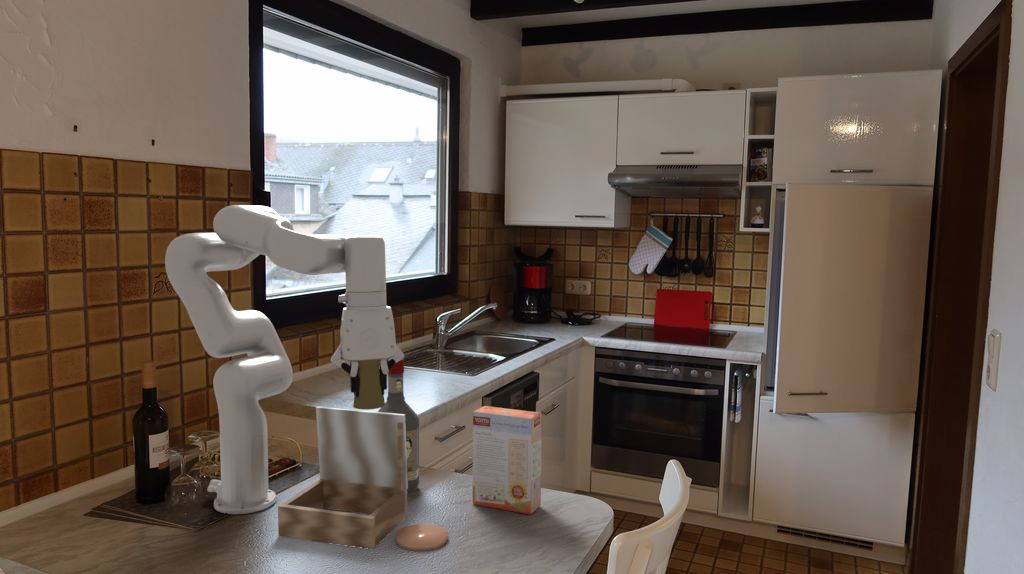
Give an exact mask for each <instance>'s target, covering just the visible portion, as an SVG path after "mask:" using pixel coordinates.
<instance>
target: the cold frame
mask: <svg viewBox="0 0 1024 574" xmlns="http://www.w3.org/2000/svg"><path fill="white" fill-rule="evenodd" d="M315 417H316V430H317V431H316V432H317V433H316V434H317V448H318V449H317V451H318V464H319V479H317V480H316V481H314V482H313V483H311V484H310V485H309V486H307V487H305V488H304V489H302V490H300V491H299V492H298V493H296V494H295V495H293V496H292V497H290V498H288V499H287V500H285V501H284V502H282V503H280V504H278V506H277V524H278V525H277V527H278V533H277V534H278V535H277V537H281V538H282V537H283V538H289V539H293V540H294V539H296V540H301V539H302V540H301V541H308V540H309V542H315V541H316V542H317V543H322V542H323V544H329V543H332V544H331V545H335V544H340V545H339V546H342V545H347V546H346V547H349V546H355V547H354V548H356V547H362V548H361V549H363V548H368V549H367V550H369V549H373V548H374V547H375V548H376V547H377V546H378V545H379V544H380V543H381V542H382V541H383V540H384V539H385V538H387V535H388V534H389V533H390V534H391V533H392V532H393V531H394V530H395V529H396V528H397V527H398V526H399V525H400V524H401V523H403V521H404V520H405V519H407V518H408V493H407V488H408V476H407V450H406V424H405V414H395V413H384V412H378V411H371V410H363V409H351V408H350V409H349V408H338V407H326V406H319V405H318V406H316V407H315ZM390 534H389V535H390ZM389 535H388V536H389ZM376 545H377V546H376ZM375 548H374V549H375ZM374 549H373V550H374Z"/></svg>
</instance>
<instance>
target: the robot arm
mask: <svg viewBox="0 0 1024 574" xmlns="http://www.w3.org/2000/svg"><path fill="white" fill-rule="evenodd" d="M212 226H213V227H212V228H213V232H192V233H186V234H185V233H184V234H181V235H180V236H177V237H175V238H174V239H173V240H172V241H170V243H169V245H168V246H167V248H166V251H165V257H164V260H165V261H164V265H165V267H164V268H165V271H166V272H165V273H166V275H167V278H168V281H169V283H170V284H171V286H172V288H173V290H174V291H175V293H176V294H177V295H178V297H179V298H180V300H181V302H182V304H183V305H184V307H185V309H186V311H187V314H188V316H189V319H190V321H191V322H192V325H193V327H194V328H195V329H194V330H195V331H196V333H197V335H198V338H199V340H200V342H201V344H202V346H203V349H204V350H205V352H206V353H207V354H208V355H209V356H211V357H212V358H219V359H222V358H229V357H234V356H239V355H240V356H241V355H244V354H246V355H247V356H244V357H240V358H236V359H232V360H229V361H227V362H225V363H223V364H222V365H221V366H219V368H217V370H216V371H215V374H214V376H213V380H212V382H213V391H214V395H215V399H216V404H217V409H218V419H219V423H218V424H219V443H220V444H219V447H220V448H219V450H220V451H219V452H220V479H211V480H210V482H209V485H208V486H207V489H206V491H207V492H209V493H216V498H215V499H214V501H213V507H214V510H215V511H217V512H219V513H223V514H226V513H227V514H228V515H246V514H251V513H256V512H259V511H260V512H261V511H263V510H266V509H268V508H269V507H271V506H273V505H274V504H275V503H276V501H277V494H276V492H275V491H273V490H271V489H269V455H268V454H269V453H268V451H269V449H268V421H267V416H266V414H265V412H264V410H263V408H262V407H261V406H260V403H259V400H262V399H266V398H268V397H272V396H273V397H274V396H277V395H279V394H282V393H283V392H285V391H287V389H288V388H290V386H291V384H292V382H293V378H294V373H293V372H294V371H293V367H292V364H291V361H290V359H289V356H288V355H287V352H286V351H285V348H284V345H283V344H282V341H281V339H280V337H279V335H278V333H277V331H276V329H275V326H274V325H273V323H272V322H271V320H270V318H269V317H267V316H266V314H264V313H263V312H261V311H259V310H255V309H245V310H243V309H242V310H236V309H234V308H233V306H232V305H231V302H230V301H229V299H228V296H227V294H226V292H225V291H224V289H223V288H222V286H220V284H218V283H217V282H216V281H215V280H214V279H213V278H211V277H210V276H208V274H207V272H208V273H209V272H223V271H234V270H239V269H241V268H243V267H246V266H247V265H248V264H250V263H251V262H253V260H255V259H256V258H258V257H259V256H260V255H262V256H265V257H267V258H268V259H269V261H271V263H273V265H276V266H278V267H279V268H283V269H286V270H289V271H292V272H296V273H299V274H302V275H307V276H318V275H330V274H340V273H342V274H343V273H345V293H344V294H341V295H338V297H337V298H338V303H342V304H344V305H345V306H346V307H343V308H342V314H341V321H340V331H339V333H340V334H339V336H340V337H339V345H338V346H337V349H336V350H335V351H334V353H333V354H332V356H331V358H330V362H331V363H332V364H333V365H336V366H337V367H339V368H341V369H343V371H345V372H346V373H347V374H348V375H349V376H350V377H349V378H350V379H349V380H350V382H349V383H350V385H349V386H350V393H352V394H353V396H354V395H356V398H357V397H359V388H360V378H359V377H358V373H357V369H358V361H367V360H381V362H380V365H379V370H380V386H381V391H382V395H385V391H386V390H388V372H389V370H390V369H391V368H392V367H393V366H394V365H395V363H397V362H398V361H400V360H401V359H402V358H403V359H404V358H405V354H404V353H403V351H402V349H401V348H400V346H398V344H397V342H396V331H395V330H396V329H395V322H394V316H393V311H392V307H391V306H388V305H387V277H386V276H387V273H386V266H387V265H386V242H385V239H384V238H383V237H382V236H380V235H350V234H306V233H302V232H298V231H295V230H294V227H293V224H292V223H291V221H290V220H289V219H287V218H286V217H283V216H282V215H281V216H280V215H279V214H278V212H277V211H275V210H274V209H273V208H271V207H269V206H265V205H249V204H248V205H247V204H231V205H228V206H225V207H223V208H221V209H220V210H219V211H218V212H217V213H216V215H215V216H214V218H213V221H212ZM341 358H343V359H344V360H345V361H344V360H342V359H341ZM347 362H349V363H347ZM227 514H226V515H227Z"/></svg>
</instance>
